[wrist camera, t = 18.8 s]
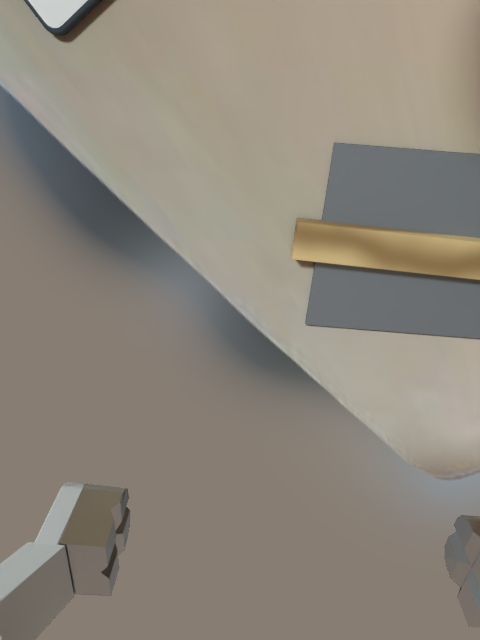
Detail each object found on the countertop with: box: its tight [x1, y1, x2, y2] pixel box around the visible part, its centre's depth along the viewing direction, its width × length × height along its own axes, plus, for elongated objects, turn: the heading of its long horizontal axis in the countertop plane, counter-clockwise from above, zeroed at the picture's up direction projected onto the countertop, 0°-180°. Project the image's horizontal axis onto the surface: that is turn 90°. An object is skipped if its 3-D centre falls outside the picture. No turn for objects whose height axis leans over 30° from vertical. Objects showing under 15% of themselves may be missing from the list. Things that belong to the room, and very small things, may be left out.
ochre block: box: [291, 218, 480, 280], centre depth 47 cm, size 4×24×2 cm, turn 84°
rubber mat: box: [305, 143, 480, 339], centre depth 48 cm, size 20×24×1 cm
